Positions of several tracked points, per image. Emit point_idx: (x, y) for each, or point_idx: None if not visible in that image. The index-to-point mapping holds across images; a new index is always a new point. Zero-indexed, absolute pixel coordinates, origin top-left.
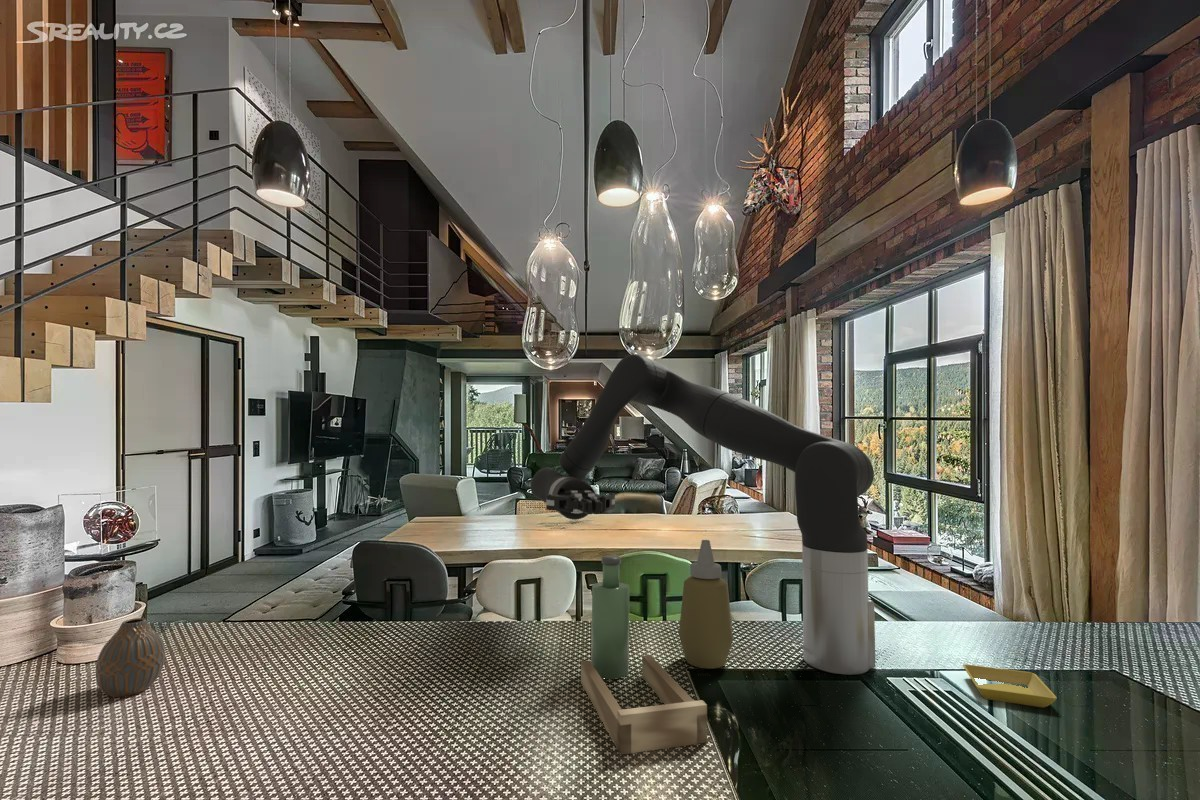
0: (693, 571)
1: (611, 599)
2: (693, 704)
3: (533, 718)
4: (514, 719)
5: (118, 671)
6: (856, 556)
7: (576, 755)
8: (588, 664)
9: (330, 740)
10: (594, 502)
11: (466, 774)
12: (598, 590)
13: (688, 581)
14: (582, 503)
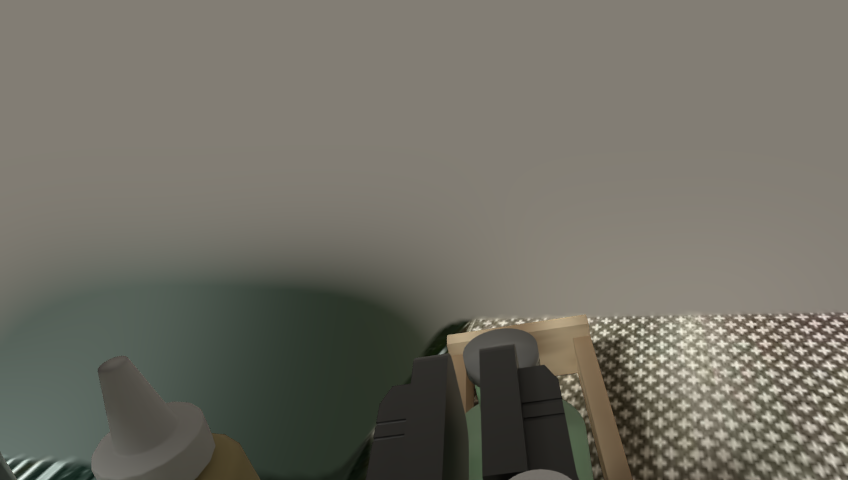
0: (207, 436)
1: None
2: (466, 335)
3: (752, 442)
4: (794, 440)
5: None
6: None
7: (658, 361)
8: None
9: None
10: (450, 382)
11: (822, 332)
12: (569, 405)
13: (230, 469)
14: (557, 382)
